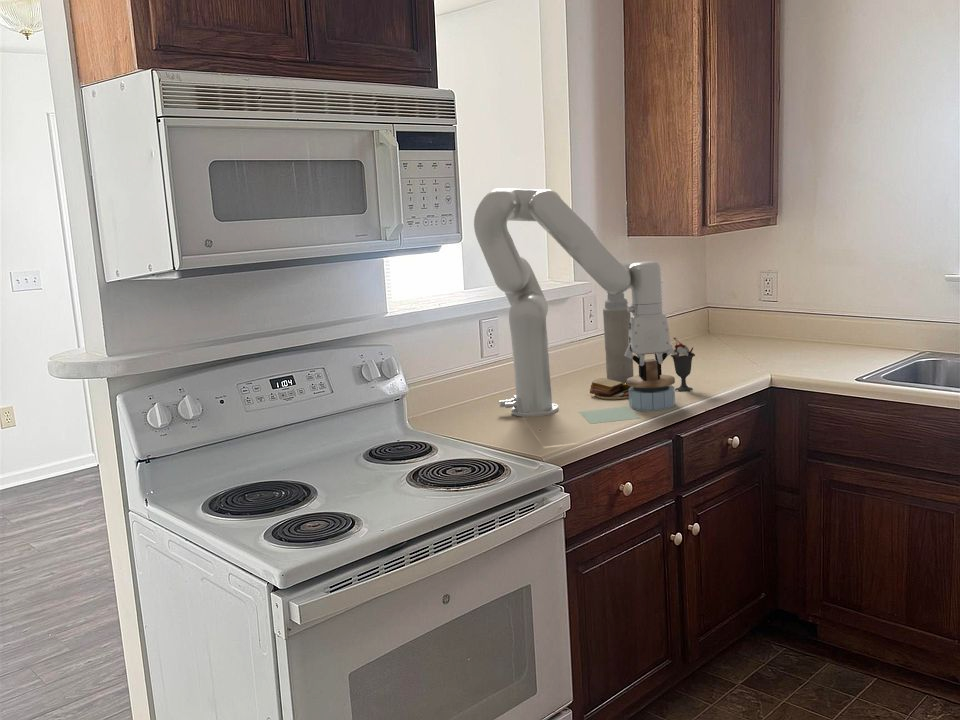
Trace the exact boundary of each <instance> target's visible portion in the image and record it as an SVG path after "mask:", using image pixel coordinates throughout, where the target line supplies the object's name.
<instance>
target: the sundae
mask: <svg viewBox="0 0 960 720" xmlns="http://www.w3.org/2000/svg"><path fill="white" fill-rule="evenodd" d="M672 339H673V340H675V341H676V344H675V345H674V348H673V349H674V352H673V353H672V354H670V355H669V356H670V357H671V358H672V361H673V366H674V369H675V370H674V371H675V373H676V375H677V376H678V377H679V378H681V382H680V383H681V384H680V386H679V387H675V388H674V391H676V390H678V391H677V392H681V391H685V392H691V391H693V390H694V389H693V387H690V386H688V385H687V381H686V379H687V377H688V376H689V375H690V374H691V373H692V371H691V370H692V364H693V363H692V362H693V358H694V357H696V355H695V353H694V352H693V350H694V347H691V349H689V346H687V345H685V344H683V343H682V342H680V341H679V340H678V339H677V337H673V338H672ZM690 390H691V391H690Z"/></svg>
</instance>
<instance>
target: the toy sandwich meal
mask: <svg viewBox="0 0 960 720" xmlns="http://www.w3.org/2000/svg"><path fill="white" fill-rule="evenodd" d="M630 387H631V386H628V385H627V384H625V383H623V382H619V381H615V380H610V379H607V377H603V378H597V379H596V378H595V379H594V380H592V381H591V385H590V388H589V394H591V395H594V397H596V398H598V399H600V400H608V401H616V400H618V401H619V400H627V399H628V400H629V390H628V389H629V388H630Z"/></svg>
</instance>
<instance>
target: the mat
mask: <svg viewBox="0 0 960 720" xmlns="http://www.w3.org/2000/svg"><path fill="white" fill-rule="evenodd" d="M578 413H579V415H581V417H583V418H584V419H585V420H586V421H587V422H588V423H589V424H591V425H593V424H601V423H611V422H612V423H613V422H620V421H627V420H628V421H629V420H637V419H638V420H639V419H642V417H641V416H640V415H638V414H637V413H635V412H634V411H633V409H630V407H628V406H619V407H610V408H601V409H592V410H584V411H578Z"/></svg>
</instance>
